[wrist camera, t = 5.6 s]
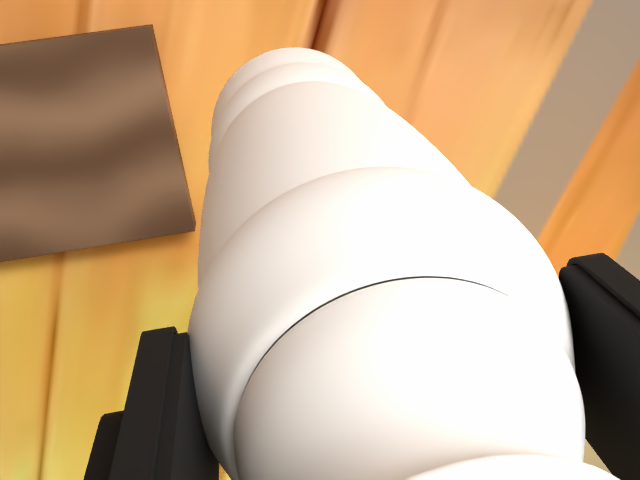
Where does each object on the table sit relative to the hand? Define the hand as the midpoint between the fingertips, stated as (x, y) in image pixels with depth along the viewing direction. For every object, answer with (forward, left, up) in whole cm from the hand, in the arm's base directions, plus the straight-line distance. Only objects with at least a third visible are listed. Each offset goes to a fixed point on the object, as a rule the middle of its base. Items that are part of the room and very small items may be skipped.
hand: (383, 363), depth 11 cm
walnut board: (+3, -17, -33) cm, 38 cm away
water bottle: (0, 0, -18) cm, 18 cm away
